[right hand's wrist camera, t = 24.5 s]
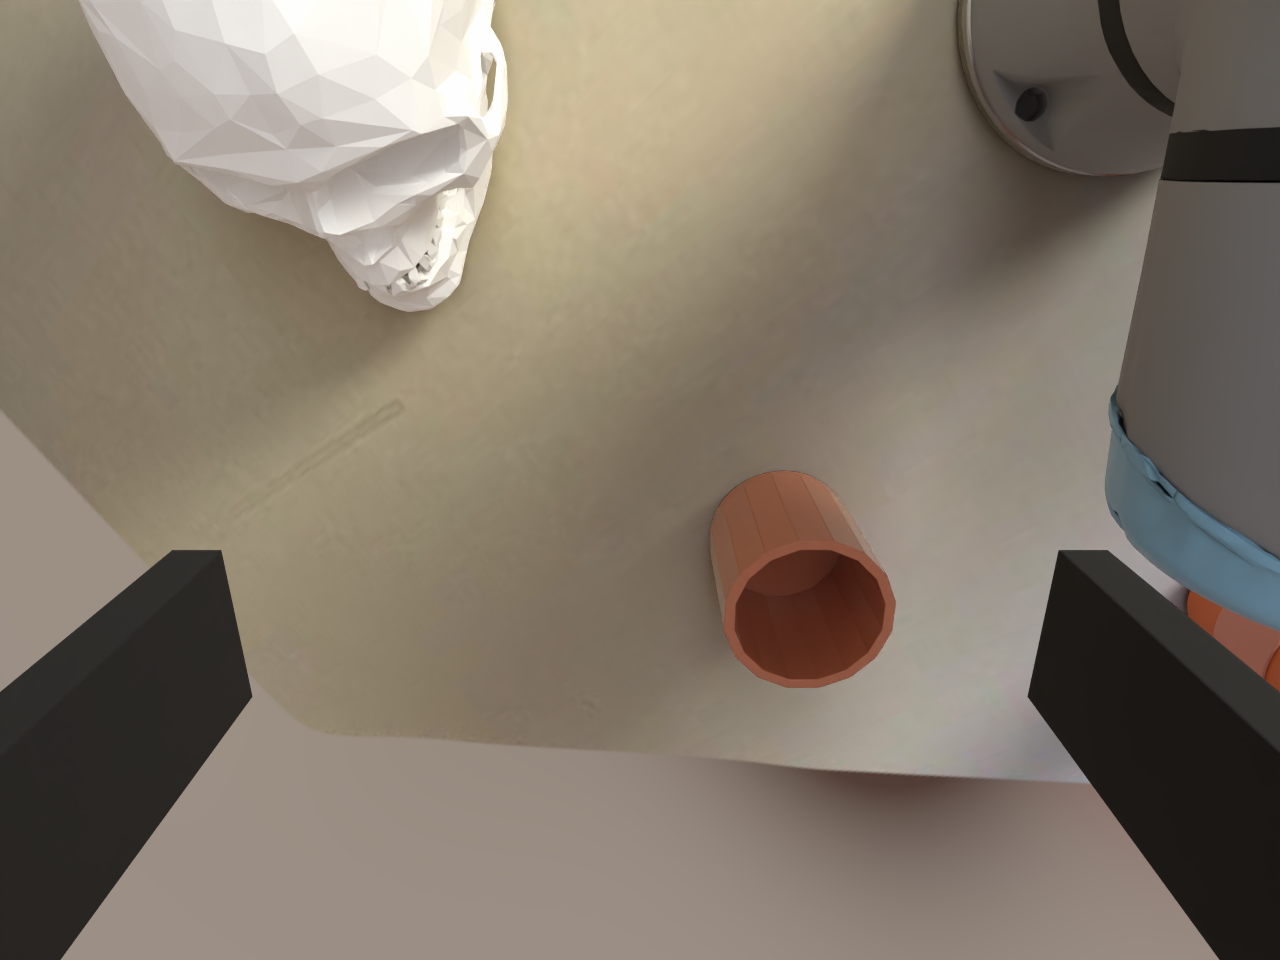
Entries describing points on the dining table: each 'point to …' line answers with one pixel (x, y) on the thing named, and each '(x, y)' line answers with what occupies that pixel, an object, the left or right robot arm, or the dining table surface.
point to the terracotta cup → (797, 582)
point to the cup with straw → (1239, 636)
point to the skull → (327, 119)
